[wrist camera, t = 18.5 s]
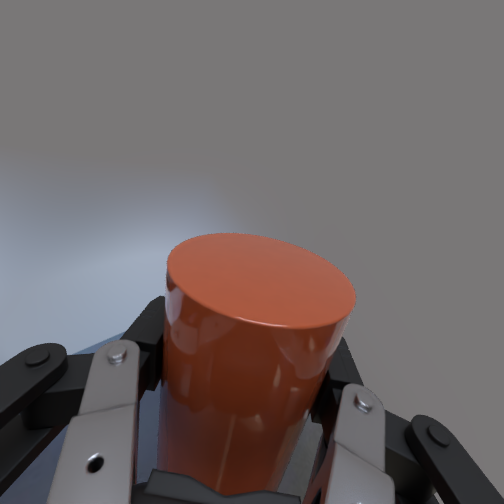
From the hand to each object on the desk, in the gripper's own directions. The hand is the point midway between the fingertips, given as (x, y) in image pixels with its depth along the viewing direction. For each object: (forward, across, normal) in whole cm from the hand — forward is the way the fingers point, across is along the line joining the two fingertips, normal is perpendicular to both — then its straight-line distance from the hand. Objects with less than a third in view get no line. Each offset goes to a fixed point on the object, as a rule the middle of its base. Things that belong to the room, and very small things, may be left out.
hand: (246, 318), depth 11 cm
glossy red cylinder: (-2, 0, +6) cm, 6 cm away
